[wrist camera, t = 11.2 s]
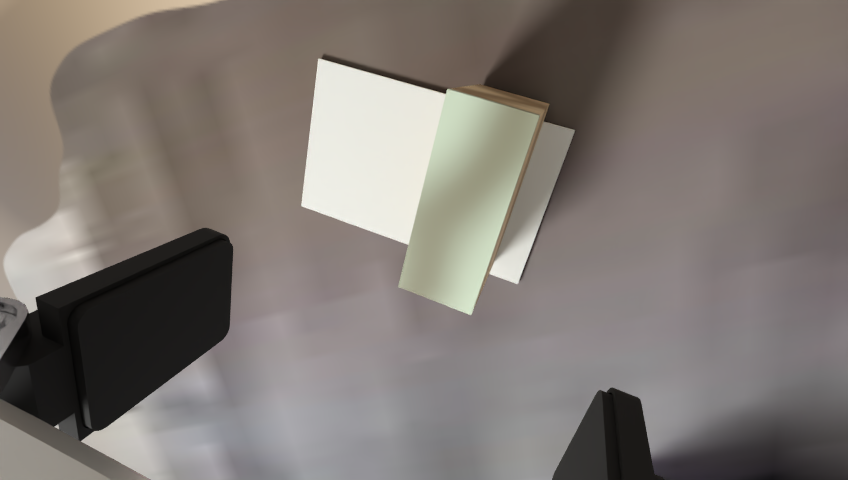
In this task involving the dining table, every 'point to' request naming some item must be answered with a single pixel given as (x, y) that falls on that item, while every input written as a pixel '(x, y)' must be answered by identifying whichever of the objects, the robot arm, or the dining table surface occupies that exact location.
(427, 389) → the dining table surface
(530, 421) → the dining table surface
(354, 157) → the white rectangular board
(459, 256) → the oak slab
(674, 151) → the dining table surface
